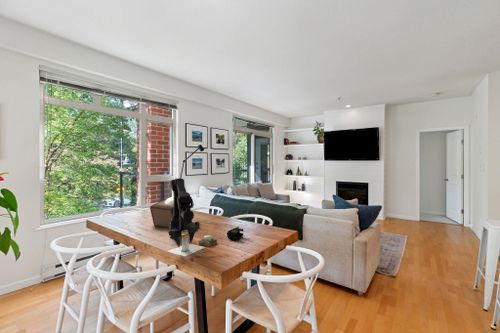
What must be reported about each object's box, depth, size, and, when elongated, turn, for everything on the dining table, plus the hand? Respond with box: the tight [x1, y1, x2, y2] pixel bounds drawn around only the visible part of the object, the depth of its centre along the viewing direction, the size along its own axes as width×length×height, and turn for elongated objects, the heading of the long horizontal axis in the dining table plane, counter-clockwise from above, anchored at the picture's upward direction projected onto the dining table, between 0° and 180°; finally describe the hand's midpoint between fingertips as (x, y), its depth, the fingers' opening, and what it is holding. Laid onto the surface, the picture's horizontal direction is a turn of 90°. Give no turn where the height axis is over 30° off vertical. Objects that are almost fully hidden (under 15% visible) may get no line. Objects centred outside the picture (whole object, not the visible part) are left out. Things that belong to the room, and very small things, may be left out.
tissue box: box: [149, 195, 191, 229], centre depth 195 cm, size 24×28×24 cm
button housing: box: [198, 237, 218, 248], centre depth 147 cm, size 8×8×2 cm
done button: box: [203, 234, 213, 242], centre depth 147 cm, size 5×5×3 cm
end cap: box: [226, 226, 244, 242], centre depth 157 cm, size 10×7×7 cm
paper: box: [166, 242, 206, 258], centre depth 137 cm, size 14×16×1 cm
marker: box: [181, 232, 189, 252], centre depth 135 cm, size 4×4×9 cm
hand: (185, 244), depth 135 cm, fingers open, 9 cm apart
